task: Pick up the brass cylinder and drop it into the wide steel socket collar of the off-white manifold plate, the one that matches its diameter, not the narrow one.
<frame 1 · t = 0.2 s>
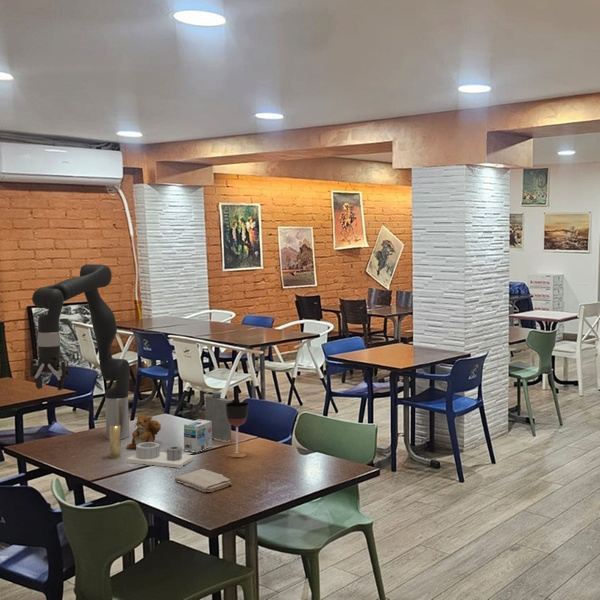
hand: (49, 389, 247), 29 cm above the table, tool pointing down, fingers open, 8 cm apart
light bulb box: (198, 449, 275), on the table
grey upright flat block: (217, 439, 290), on the table
manifold: (161, 461, 258), on the table
stuffed squirrel: (145, 446, 278), on the table
wineglass: (236, 455, 266), on the table
washcloth: (203, 485, 233), on the table
brass cylinder: (115, 456, 263), on the table
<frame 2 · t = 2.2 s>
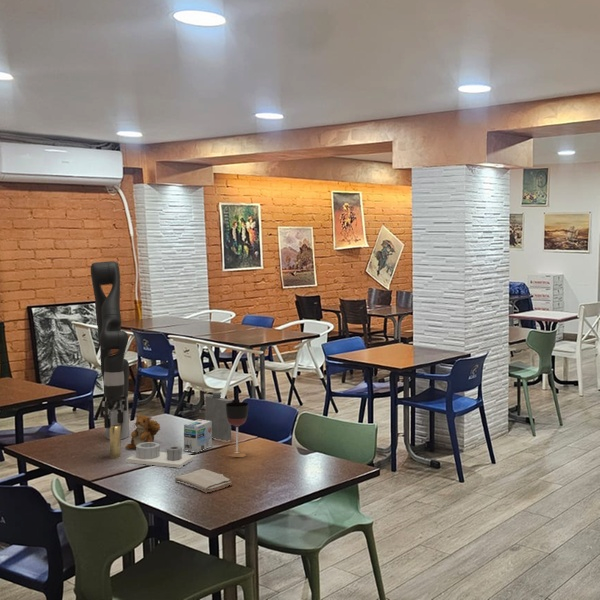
hand: (114, 425, 262), 12 cm above the table, tool pointing down, fingers open, 8 cm apart
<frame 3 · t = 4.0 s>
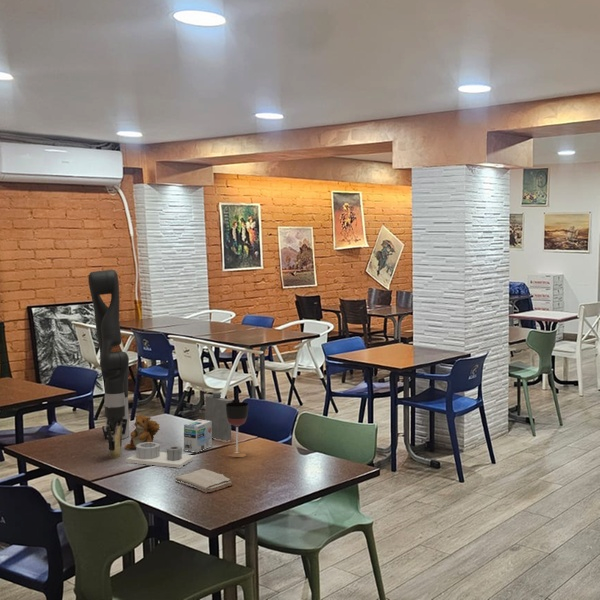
hand: (115, 448, 263), 3 cm above the table, tool pointing down, fingers closed on brass cylinder, 4 cm apart
brass cylinder: (115, 456, 263), on the table, touching gripper
everything else where it was.
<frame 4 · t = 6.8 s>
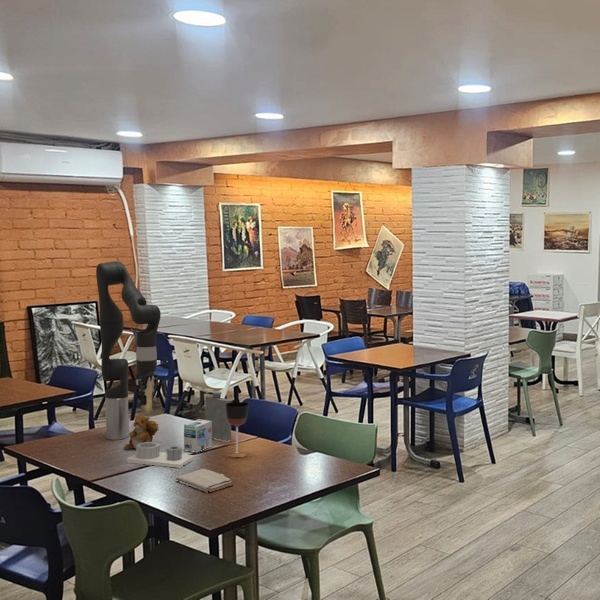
hand: (146, 403, 258), 21 cm above the table, tool pointing down, fingers closed on brass cylinder, 4 cm apart
brass cylinder: (146, 412, 259), point 18 cm above the table, touching gripper
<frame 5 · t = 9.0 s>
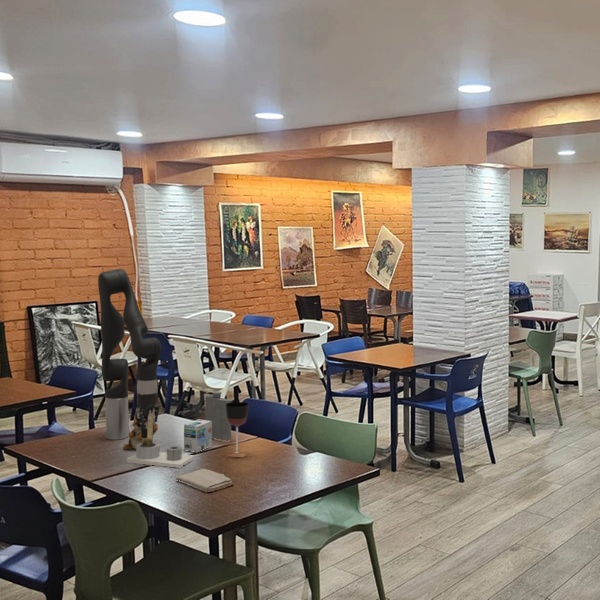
hand: (147, 436, 259), 9 cm above the table, tool pointing down, fingers closed on brass cylinder, 4 cm apart
brass cylinder: (147, 444, 260), point 6 cm above the table, touching gripper
when the fingers open (8 cm above the table, at t = 9.7 s): brass cylinder drops 3 cm, resting on manifold.
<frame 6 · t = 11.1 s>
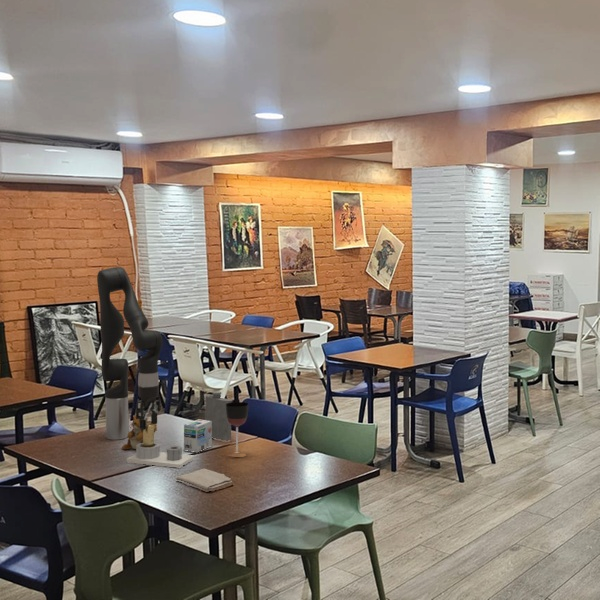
hand: (148, 426, 259), 13 cm above the table, tool pointing down, fingers open, 8 cm apart
brass cylinder: (147, 455, 260), point 2 cm above the table, tilted 5°, touching manifold
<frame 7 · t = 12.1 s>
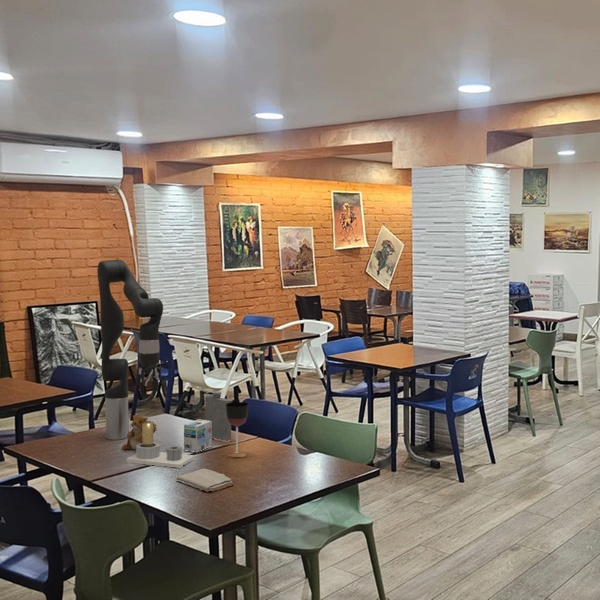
hand: (149, 393, 263), 24 cm above the table, tool pointing down, fingers open, 8 cm apart
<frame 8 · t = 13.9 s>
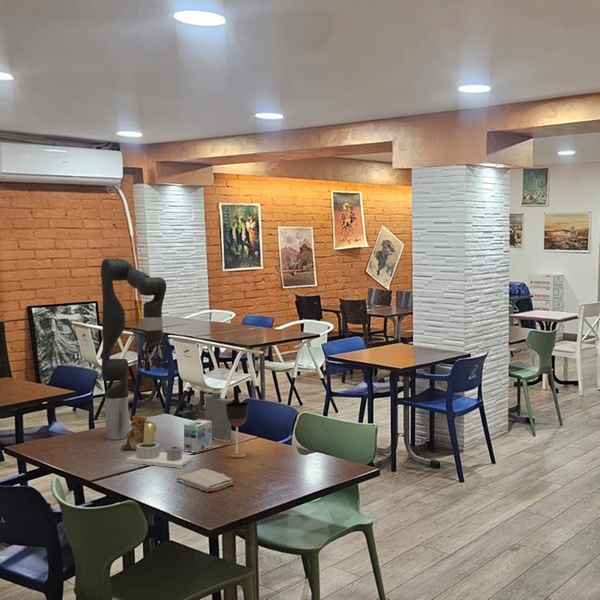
hand: (153, 369, 271), 32 cm above the table, tool pointing down, fingers open, 8 cm apart
at the end: brass cylinder 0.1 cm from the target spot on the manifold, point 1.6 cm above the manifold's base; brass cylinder tilted 4°; the gripper is holding nothing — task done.
